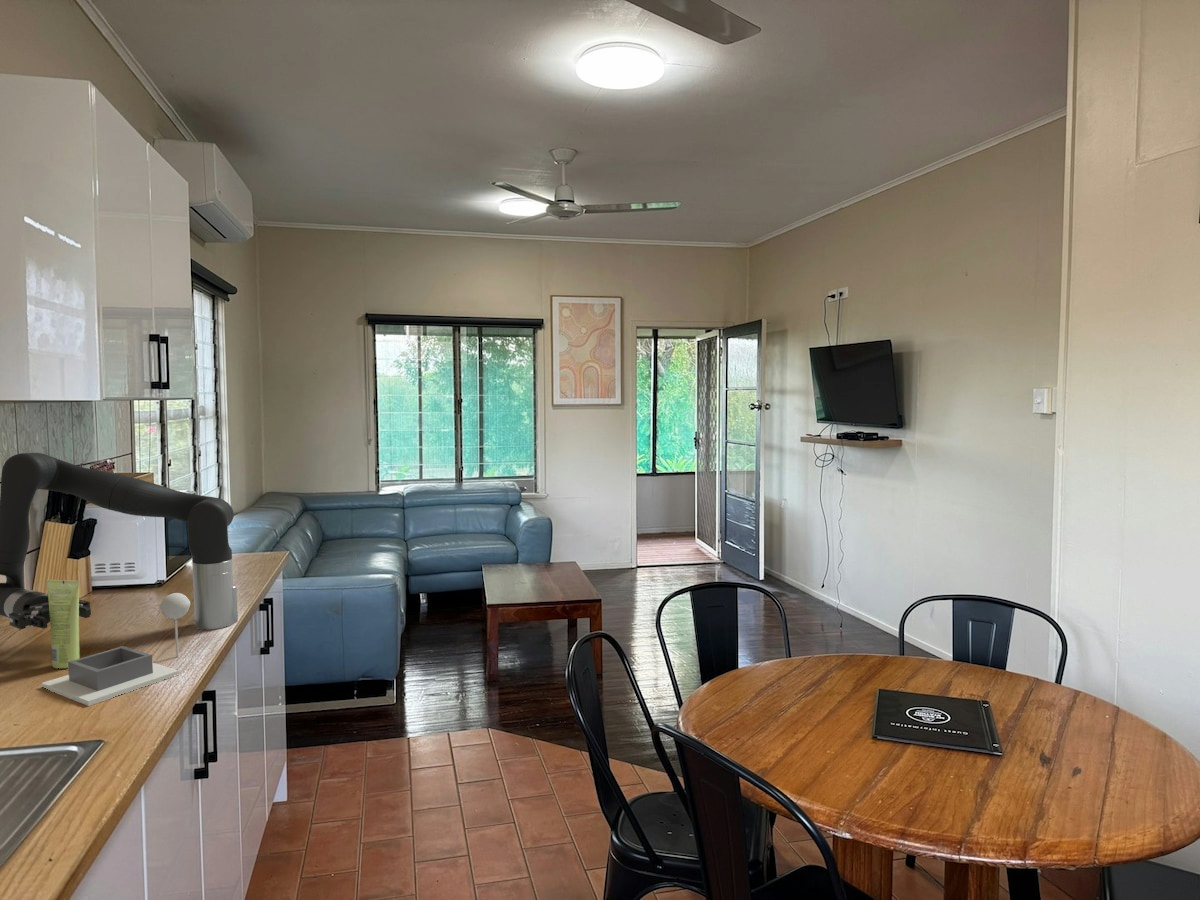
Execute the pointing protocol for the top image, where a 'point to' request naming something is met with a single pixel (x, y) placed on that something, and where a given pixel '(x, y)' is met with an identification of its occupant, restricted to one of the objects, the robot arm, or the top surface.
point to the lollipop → (175, 609)
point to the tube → (64, 621)
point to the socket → (108, 675)
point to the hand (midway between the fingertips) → (67, 618)
